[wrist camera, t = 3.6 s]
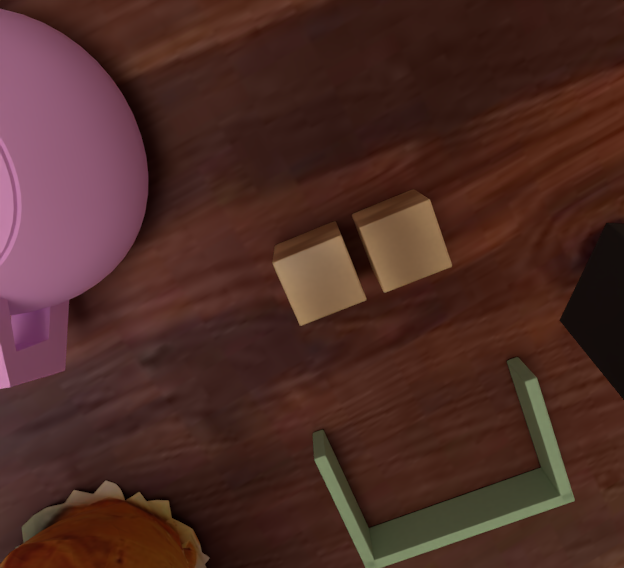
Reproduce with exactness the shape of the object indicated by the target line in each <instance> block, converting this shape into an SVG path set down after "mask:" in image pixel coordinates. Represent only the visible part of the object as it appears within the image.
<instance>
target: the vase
mask: <svg viewBox="0 0 624 568" xmlns="http://www.w3.org/2000/svg"><path fill="white" fill-rule="evenodd" d="M22 535H23V542H24V543H23V544H21V545H20V546H17V547H15V550H13V551H12V552H10V553H9V554H8V556H7V557H6V558H5V559H4V560H3V561H2V562H1V564H0V568H207V567H206V566H205V563H206V562H207V561H208V560H209V557H208V556H206V555H205V554H203V553H202V551H201V546H200V542H199V540H198V538H197V536H196V534H195V532H194V530H193V529H192V528H190V527H188V526H187V525H185V524H183V523H181V522H179V521H177V520H175V519H173V518H172V516H171V510H170V505H169V501H168V500H152V501H146V500H145V499H144V497H143V496H142V495H141V493H140V492H138V493H136V494H135V495H133V496H132V497H130V498H129V499H127V500H126V501H125V499H124V496H123V493H122V491H121V489H120V488H119V487H118V485H117V484H115V483H112V482H109V481H106V480H105V482H104V483H103V484H102V485H101V486H100V487H99V488H98V489H97V491H96V492H95V493H94V494H90V493H86V492H81V491H76V490H73V492H72V493H71V495H70V496H69V498H68V499H67V501H66V502H65V503H64V504H60V505H55V506H51V507H47V508H45V509H43V510H42V511H40V512H38V513H37V514H35V515H33V516H32V517H31V518H30V519H29V520H28V521H27V522H26V523H25V524H24V525H23V526H22Z"/></svg>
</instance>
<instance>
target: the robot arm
mask: <svg viewBox="0 0 624 568" xmlns="http://www.w3.org/2000/svg"><path fill="white" fill-rule="evenodd" d="M560 321H561V323H562V324H563V325H564V326H565V328H566V329H567V330H568V331H569V333H570V334H571V335H572V336H573V338H574V339H575V340H576V341H577V342H578V344H579V345H580V346H581V347H582V349H583V350H584V351H585V352H586V354H587V355H588V356H589V357H590V359H591V360H592V361H593V362H594V364H595V365H596V366H597V367H598V368H599V370H600V371H601V372H602V373H603V375H604V376H605V377H606V378H607V380H608V381H609V382H610V383H611V385H612V386H613V387H614V388H615V389H616V391H617V392H618V393H619V394H620V396H621V397H622V398H623V399H624V224H617V223H606V225H605V227H604V229H603V231H602V233H601V236H600V238H599V240H598V242H597V244H596V246H595V248H594V250H593V252H592V254H591V256H590V258H589V260H588V263H587V265H586V267H585V269H584V271H583V273H582V275H581V277H580V279H579V281H578V283H577V285H576V287H575V289H574V292H573V294H572V296H571V298H570V300H569V302H568V304H567V306H566V308H565V310H564V312H563V314H562V316H561V319H560Z"/></svg>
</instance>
